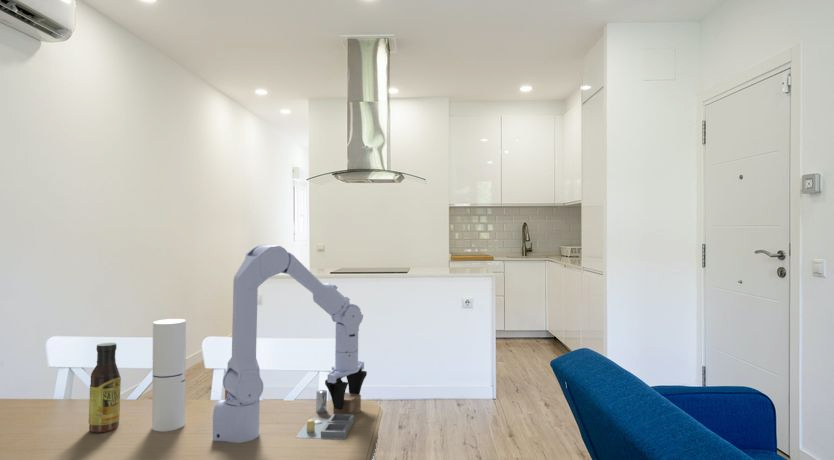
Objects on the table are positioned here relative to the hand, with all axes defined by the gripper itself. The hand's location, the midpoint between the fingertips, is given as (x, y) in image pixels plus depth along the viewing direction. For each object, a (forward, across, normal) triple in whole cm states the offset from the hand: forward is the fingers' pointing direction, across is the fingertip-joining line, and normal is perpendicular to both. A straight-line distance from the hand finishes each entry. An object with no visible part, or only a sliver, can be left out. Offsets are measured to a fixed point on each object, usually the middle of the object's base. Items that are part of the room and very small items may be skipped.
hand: (346, 404), depth 132 cm
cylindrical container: (+3, +23, -35) cm, 42 cm away
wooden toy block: (+3, 0, 0) cm, 3 cm away
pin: (+3, +2, -6) cm, 7 cm away
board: (+3, +11, +1) cm, 12 cm away
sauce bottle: (+3, +31, -47) cm, 57 cm away
